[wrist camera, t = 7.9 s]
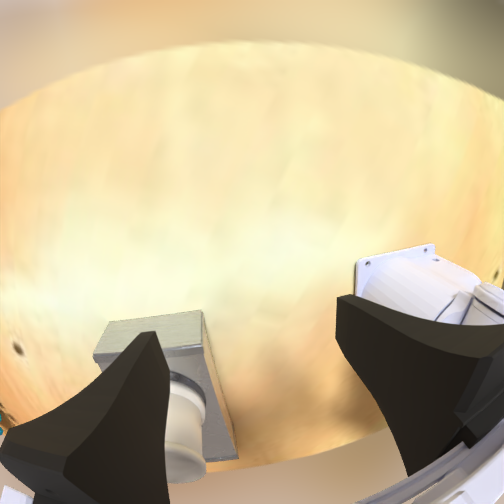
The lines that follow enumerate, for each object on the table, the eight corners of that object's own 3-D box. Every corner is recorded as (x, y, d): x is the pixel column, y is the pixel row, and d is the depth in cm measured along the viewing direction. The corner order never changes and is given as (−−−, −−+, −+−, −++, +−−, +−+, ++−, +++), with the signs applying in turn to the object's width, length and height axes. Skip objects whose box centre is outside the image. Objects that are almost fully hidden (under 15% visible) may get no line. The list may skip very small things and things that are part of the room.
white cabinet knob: (200, 378, 17) (201, 447, 12) (208, 424, 19) (212, 484, 13) (125, 377, 17) (106, 441, 11) (143, 423, 18) (135, 480, 13)
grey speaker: (202, 309, 21) (202, 343, 17) (234, 427, 26) (239, 459, 22) (108, 321, 20) (91, 354, 16) (164, 433, 25) (162, 465, 21)
